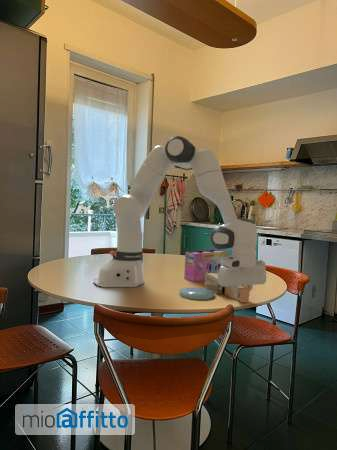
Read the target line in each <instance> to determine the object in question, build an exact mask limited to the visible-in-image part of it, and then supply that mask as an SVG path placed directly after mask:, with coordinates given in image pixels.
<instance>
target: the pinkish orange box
mask: <svg viewBox="0 0 337 450" xmlns="http://www.w3.org/2000/svg"><path fill="white" fill-rule="evenodd" d="M237 291H238V292H239V293H240V297H234V291H233V289H232V286H228V287H225V291H224V295H226V296H227V297H229V298H232V299H233V300H236V301H237V300H238V301H237V302H239V301H240V303H241V302H242V303H243V302H245V303H249V302H250V301H249V300H250V299H249V298H250V295H249V289H248V288H247V287H245V286H244V285H243V286H238V289H237ZM243 304H244V303H243Z"/></svg>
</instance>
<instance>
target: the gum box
mask: <svg viewBox="0 0 337 450" xmlns="http://www.w3.org/2000/svg"><path fill="white" fill-rule="evenodd" d="M184 253H185V254H184V258H185V259H184V274H183V275H184V277H183V279H184V280H187V281H190V282H195V283H196V282H205V273H217V272H219V268H220V267H221V266H222V265H221V264H220V260H221V259H223V258H225V257H228V256H229V251H223V250H220V249H205V250H191V251H190V250H188V251H185V252H184Z"/></svg>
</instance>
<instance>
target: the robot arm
mask: <svg viewBox="0 0 337 450" xmlns="http://www.w3.org/2000/svg"><path fill="white" fill-rule="evenodd" d="M172 167H174V168H176V169H181V170H185V171H190V170H191V171H193V173H194V177H195V183H196V185H197V188H198V191H199V193H200V194H201V195H202V196H203V197H205V198H207V199H208V200H210V201H211V202H212V203H214V204H215V205H216V207H217V208H218V210H219V212H220V215H221V218H222V220H223V224H222V225H217V226H215V227H213V228H212V230H211V231H210V234H209V240H210V244H211V245H212V246H213V247H214V248H215V249H216V250H221V251H223V250H224V251H226V250H231V252H232V254H230V255H228V257H225V258H223V259H221V260H220V264H221V265H222V266H221V267H220V268H219V273H218V283H219V285H221V286H223V287H228V286H232V289H233V291H234V297H240V293H239V292H238V291H237V289H238V286H243V287H244V286H246V288H248V289H249V296H250V294H251V293H250V292H252V289H253V286H254V285H264V284H266V282H267V269H266V267H267V266H266V262H265V261H263V260H262V259H260V260H257V251H256V247H257V242H258V229H257V228H258V227H257V223H256V221H254V220H253V219H249V218H245V217H239V215H238V212H237V210H236V208H235V204H234V202H233V200H232V199H233V198H232V196H231V194H230V192H229V190H228V187H227V185H226V182H225V178H224V175H223V171H222V168H221V165H220V161H219V160H218V157H217V156H216V153H215V152H214V150H211V149H209V148H204V149H203V148H202V149H199V150H198V149H197V148H196V146H195V145H194V144H193V143H192V142H190V140H189V139H188V138H185V137H184V136H180V135H179V136H178V135H175V136H172V137H171V138H169V139H168V140H167V141H166V144H165V146H164V145H156V146H154V147H153V149H151V151H150V152H149V153H148V155H147V156H146V158H145V159H144V160H143V162H142V164H141V165H140V167H139V169H138V170H137V173H136V174H135V176H134V178H133V181H132V185H131V188H130V190H129V193H128V194H124V195H121V196H119V197H118V198H117V199H115V200H114V203H113V206H112V210H113V214H114V215H115V223H116V229H117V246H116V247H117V248H116V250H115V251H114V250H110V256H112V259H111V260H110V261H108V262H107V263H106V264H104V265H102V266H101V268H100V270H99V274H98V277H95V278H93V281H94V283H95V284H96V285H98V286H97V287H99V286H101V287H100V288H136V287H138V286H140V285H143V284H144V283H145V280H144V279H145V278H144V273H143V261H144V254H143V253H144V251H143V239H144V238H143V231H142V224H141V219H142V218H143V217H144V216H145V215H146V214H147V212H148V209H149V207H150V205H151V203H152V200H153V198H154V196H155V193H156V191H157V189H158V188H159V186H160V184H161V183H162V182H163V180H164V178H165V176H166V175H167V172H169V170H170V169H171V168H172ZM94 283H93V284H94ZM95 284H94V285H95ZM96 285H95V286H96Z"/></svg>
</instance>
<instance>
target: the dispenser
mask: <svg viewBox="0 0 337 450" xmlns="http://www.w3.org/2000/svg"><path fill="white" fill-rule="evenodd" d="M204 289H208V290H211V291H213V292H214V295H223V291H224V292H225V287H223V286H221V285H219V283H218V273H205V280H204Z"/></svg>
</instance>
